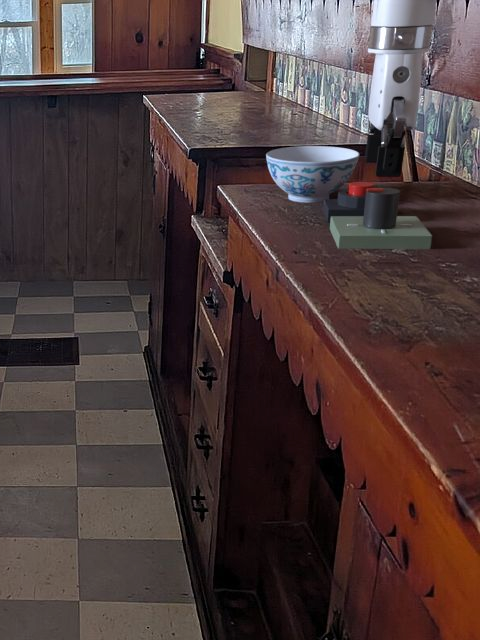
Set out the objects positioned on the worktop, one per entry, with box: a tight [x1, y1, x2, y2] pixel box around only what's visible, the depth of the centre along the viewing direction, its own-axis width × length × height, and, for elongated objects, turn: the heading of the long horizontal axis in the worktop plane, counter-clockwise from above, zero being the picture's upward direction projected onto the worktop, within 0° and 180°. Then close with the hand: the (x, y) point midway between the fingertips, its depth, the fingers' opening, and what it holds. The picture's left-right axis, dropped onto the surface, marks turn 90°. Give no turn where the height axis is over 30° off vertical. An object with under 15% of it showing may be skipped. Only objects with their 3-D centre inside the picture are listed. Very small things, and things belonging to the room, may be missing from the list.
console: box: [329, 215, 433, 250], centre depth 125 cm, size 12×11×2 cm
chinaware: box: [265, 145, 360, 204], centre depth 149 cm, size 15×15×8 cm
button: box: [348, 181, 375, 196], centre depth 135 cm, size 4×4×2 cm
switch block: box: [322, 188, 366, 224], centre depth 136 cm, size 10×7×4 cm
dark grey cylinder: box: [363, 187, 401, 229], centre depth 124 cm, size 4×4×5 cm
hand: (381, 169), depth 122 cm, fingers open, 9 cm apart
